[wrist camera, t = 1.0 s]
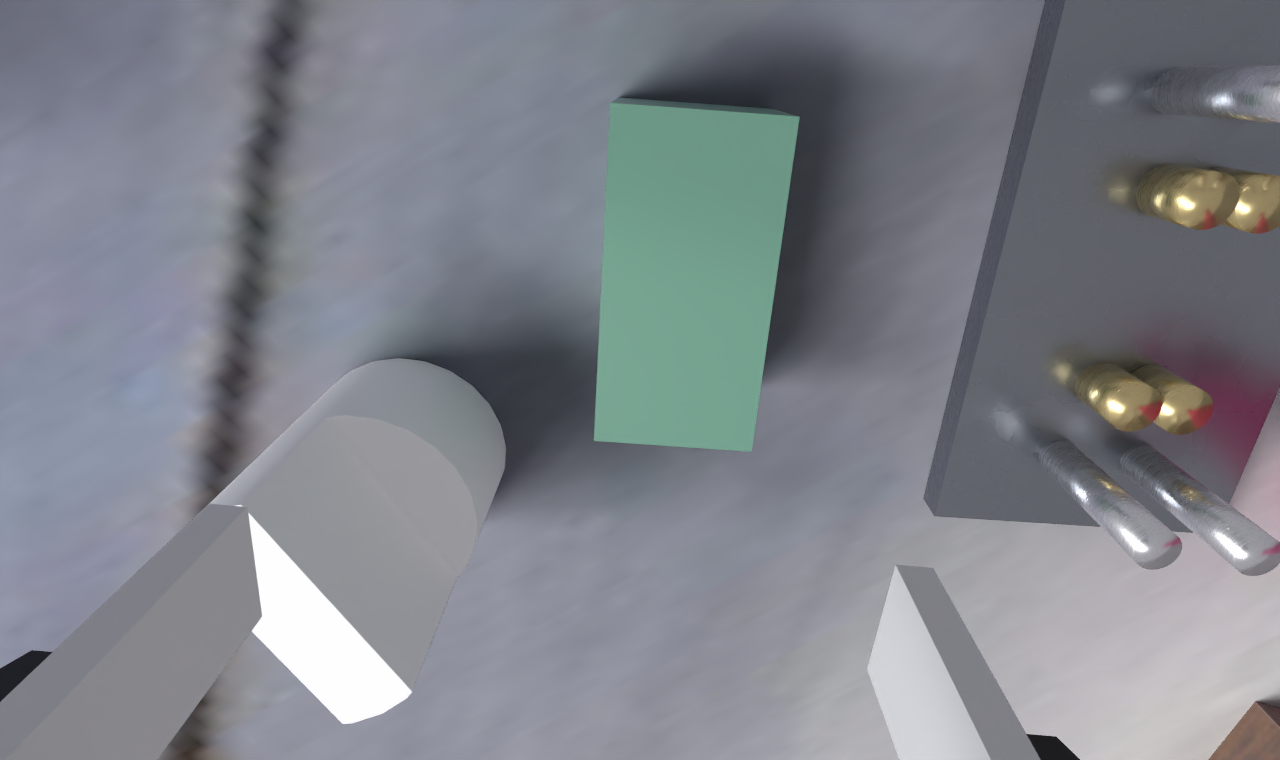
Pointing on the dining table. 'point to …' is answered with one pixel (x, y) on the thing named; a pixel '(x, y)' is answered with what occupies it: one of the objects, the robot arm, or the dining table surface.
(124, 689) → the robot arm
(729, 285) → the mint green rectangular block
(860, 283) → the dining table surface
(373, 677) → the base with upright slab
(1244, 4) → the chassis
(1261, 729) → the tissue box cover
